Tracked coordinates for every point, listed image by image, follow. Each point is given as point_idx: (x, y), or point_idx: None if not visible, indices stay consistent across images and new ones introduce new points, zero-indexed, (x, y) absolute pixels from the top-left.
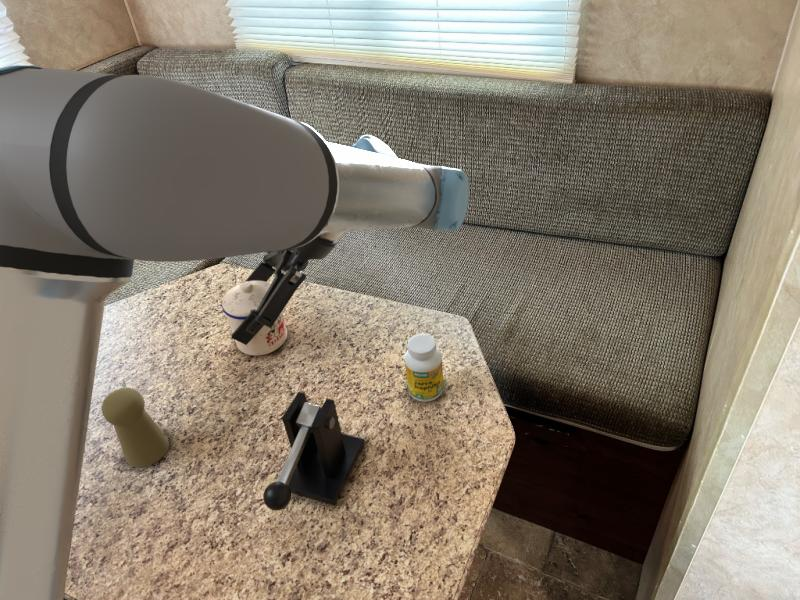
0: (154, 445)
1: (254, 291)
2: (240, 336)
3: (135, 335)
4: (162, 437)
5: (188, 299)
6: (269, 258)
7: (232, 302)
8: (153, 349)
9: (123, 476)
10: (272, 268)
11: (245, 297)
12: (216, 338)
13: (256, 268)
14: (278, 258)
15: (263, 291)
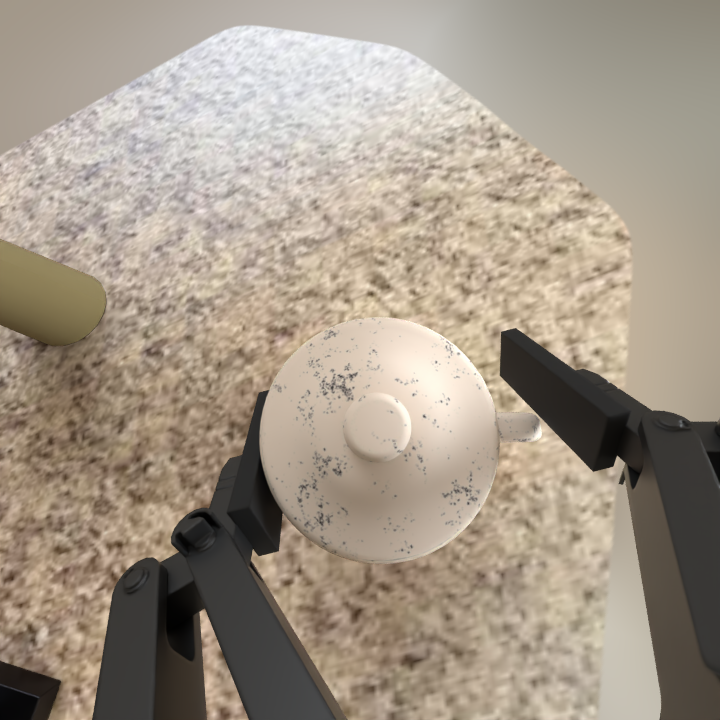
0: (9, 328)
1: (365, 470)
2: None
3: (366, 147)
4: (42, 332)
5: (497, 196)
6: (655, 485)
7: (315, 373)
8: (327, 199)
9: None
10: (612, 458)
11: (322, 436)
12: (370, 315)
13: (587, 385)
14: (663, 577)
15: (389, 507)
